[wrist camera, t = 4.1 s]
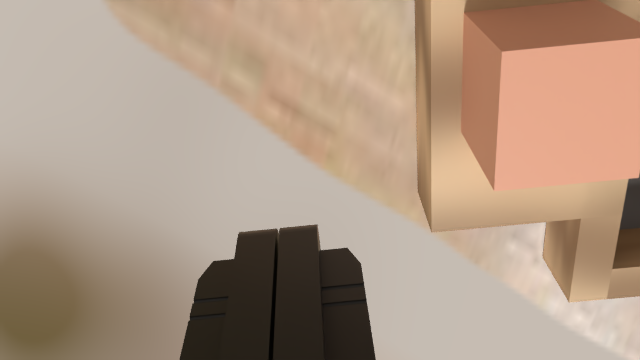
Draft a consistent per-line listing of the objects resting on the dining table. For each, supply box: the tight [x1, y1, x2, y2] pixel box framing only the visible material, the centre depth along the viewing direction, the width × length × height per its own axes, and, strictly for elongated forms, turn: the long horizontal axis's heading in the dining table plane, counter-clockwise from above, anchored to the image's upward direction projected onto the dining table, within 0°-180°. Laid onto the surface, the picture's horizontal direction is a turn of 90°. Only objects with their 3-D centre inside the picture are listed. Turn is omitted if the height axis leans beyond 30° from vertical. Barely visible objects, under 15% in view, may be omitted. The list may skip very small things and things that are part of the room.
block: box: [461, 0, 640, 191], centre depth 17 cm, size 4×4×4 cm
